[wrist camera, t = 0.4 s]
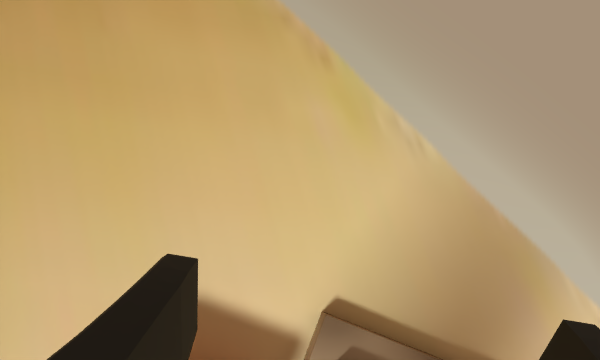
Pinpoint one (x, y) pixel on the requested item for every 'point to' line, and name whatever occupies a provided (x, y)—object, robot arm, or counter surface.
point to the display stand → (356, 343)
